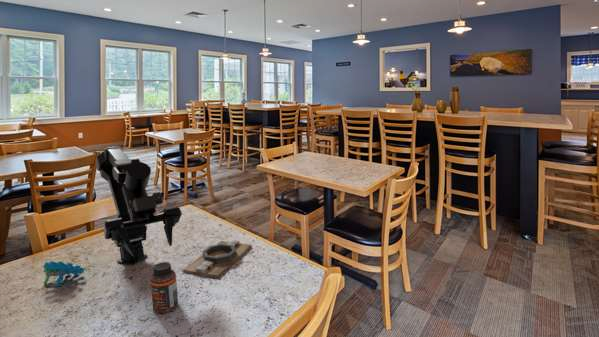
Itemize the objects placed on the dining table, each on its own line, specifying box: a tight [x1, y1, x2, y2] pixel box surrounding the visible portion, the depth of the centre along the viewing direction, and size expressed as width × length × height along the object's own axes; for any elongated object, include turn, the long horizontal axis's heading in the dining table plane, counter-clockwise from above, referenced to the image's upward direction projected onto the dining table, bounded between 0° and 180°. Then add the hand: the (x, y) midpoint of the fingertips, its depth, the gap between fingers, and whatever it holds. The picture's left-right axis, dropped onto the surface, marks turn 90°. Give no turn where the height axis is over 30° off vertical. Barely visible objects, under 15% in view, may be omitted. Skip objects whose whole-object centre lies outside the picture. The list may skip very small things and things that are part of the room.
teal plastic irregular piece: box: [42, 260, 85, 287], centre depth 95 cm, size 11×6×10 cm
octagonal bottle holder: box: [182, 239, 253, 279], centre depth 109 cm, size 12×22×3 cm, turn 162°
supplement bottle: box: [149, 261, 179, 314], centre depth 83 cm, size 6×6×11 cm
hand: (152, 250), depth 87 cm, fingers open, 9 cm apart
